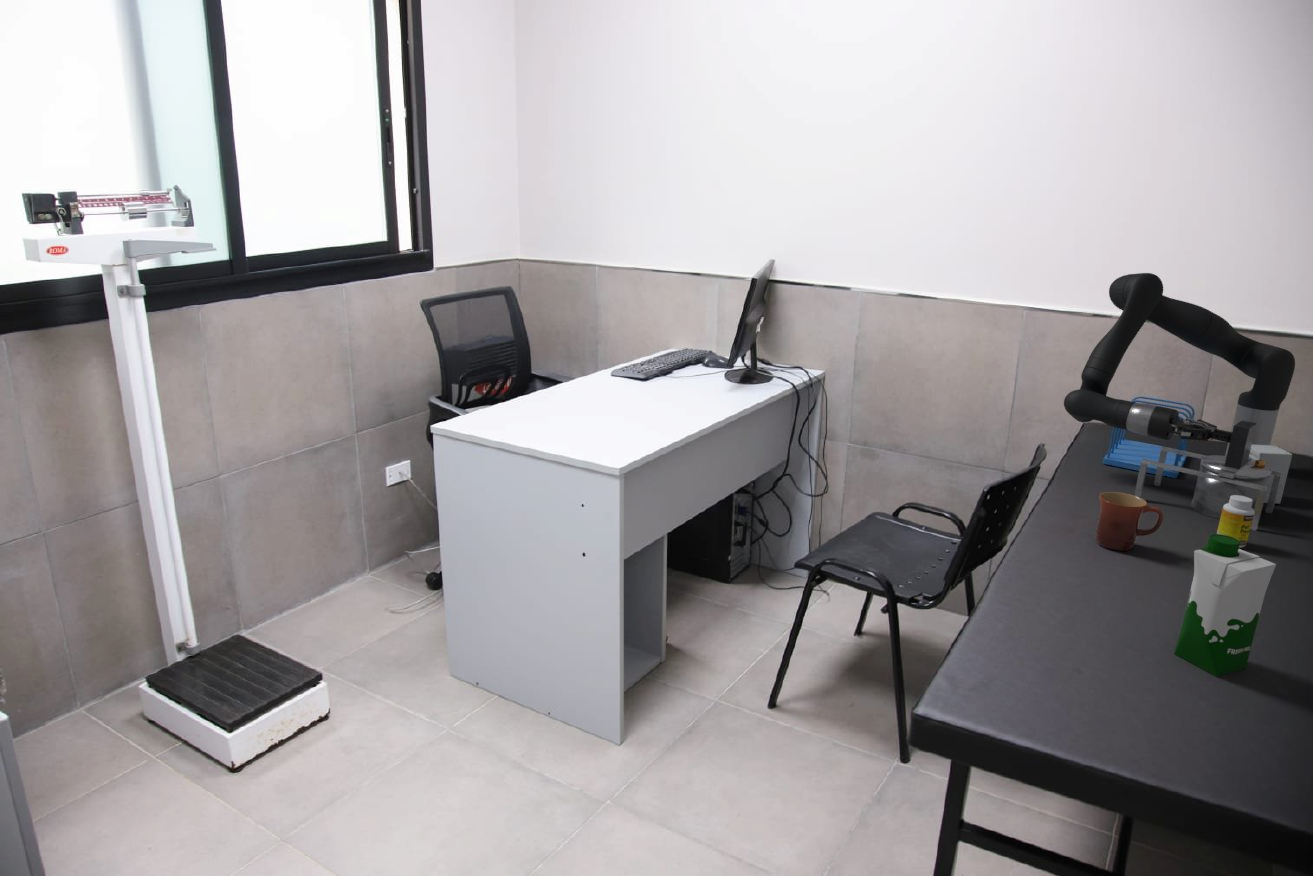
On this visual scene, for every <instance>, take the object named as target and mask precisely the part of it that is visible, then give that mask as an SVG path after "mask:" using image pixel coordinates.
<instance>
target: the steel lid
mask: <svg viewBox="0 0 1313 876" xmlns="http://www.w3.org/2000/svg"><path fill="white" fill-rule="evenodd" d="M1256 425H1257V423H1252V422H1247V421H1240V422H1239V423H1237V424H1236V425H1234V427H1233V432H1232V436H1231V440H1230V444H1229V449H1228V453H1227V456H1225V455H1220V454H1219V455H1217V454H1215V455H1205V456H1204V457H1202V458H1201V459H1200V463H1199V464H1200V465H1201V466H1202V467H1203V468H1205V469H1207V470H1209V471H1212V472H1215V473H1218V476H1223V477H1227V478H1231V479H1234V478H1242V479H1253V480H1261V479H1267V478H1269V477H1270V476H1271V472H1272V470H1271V469H1270V468H1269V467H1267V466H1265V464H1266V462H1265V461H1262V460H1255V461H1252V459H1249V454H1250V450H1251V445H1252V441H1253V437H1254V433H1255V429H1256ZM1200 465H1199V466H1200Z"/></svg>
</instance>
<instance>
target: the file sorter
mask: <svg viewBox="0 0 1313 876" xmlns="http://www.w3.org/2000/svg"><path fill="white" fill-rule="evenodd" d="M1142 399H1144V400H1142ZM1147 400H1149V401H1147ZM1153 401H1154V402H1153ZM1131 402H1136V403H1145V404H1151V405H1156V406H1161V407H1166V408H1171V409H1176V410H1177V411H1178V413H1179V414H1180V415H1179V416H1178V417H1179V419H1184V420H1185V419H1186V418H1189V419H1194V417H1195V413H1196V412H1195V410H1194V408H1193V406H1192V405H1190V404H1189V403H1185V402H1178V401H1173V400H1168V399H1162V398H1155V397H1148V396H1136V397H1134V398H1133V399H1132V400H1131ZM1159 402H1162V403H1159ZM1168 403H1169V404H1168ZM1171 404H1172V405H1171ZM1173 404H1175V405H1173ZM1177 405H1180V406H1177ZM1184 406H1186V407H1184ZM1187 407H1188V408H1189V409H1190V410H1189V409H1188V408H1187ZM1181 410H1183V411H1181ZM1184 411H1185V412H1184ZM1181 415H1183V416H1184V417H1185V418H1184V417H1183V416H1181ZM1194 420H1195V419H1194ZM1126 432H1127V430H1124V429H1120V428H1115V427H1112V431H1111V436H1110V441H1109V446H1108V451H1107V454H1105V456H1104V457H1103V459H1102V460H1103V461H1102V464H1103V465H1104V464H1105V465H1107V466H1108V465H1109V466H1113V467H1117V468H1124V469H1129V470H1134V471H1138V472H1139V470H1140V465H1141V460H1142V459H1147V460H1151V461H1156V462H1158V461H1159V457H1160V452H1161V448H1162V447H1164V446H1162V445H1157V444H1153V443H1152V444H1151V443H1146V442H1141V441H1136V440H1130V439H1126V438H1125V437H1126ZM1188 441H1189V439H1181V438H1180V437H1179V443H1178V447H1177V448H1176V449H1177V450H1182V451H1187V452H1189V451H1188V450H1187V446H1188V443H1189V442H1188ZM1187 458H1188V456H1185V455H1180V454H1176V453H1171V452H1167V456H1166V460H1165V464H1169V465H1173V466H1178V467H1182V468H1183V466H1184V464H1185V462H1186V460H1187ZM1156 471H1157V466H1153V465H1149V464H1148V466H1147V470H1146V474H1147V473H1148V474H1152V475H1156ZM1179 473H1180V472H1179V471H1175V470H1171V469H1166V468H1164V470H1163V474H1162V477H1165V476H1167V478H1170V477H1171V479H1177V478H1178V475H1179Z"/></svg>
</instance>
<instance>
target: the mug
mask: <svg viewBox="0 0 1313 876" xmlns="http://www.w3.org/2000/svg"><path fill="white" fill-rule="evenodd" d="M1098 498H1099V503H1100V505H1099V506H1100V507H1099V509H1100V511H1099V517H1098V521H1097V525H1096V529H1095V541H1096V542H1097V544H1098V545H1100V547H1103V548H1105V549H1108V550H1111V551H1117V552H1126V551H1128V550H1131V549H1133V548H1134V545H1135V544H1136V541H1137V537H1141V536H1142V537H1143V536H1148V535H1152V534H1154V533H1155V532H1156V531H1158V530H1159V529H1160V527H1161V526H1162V523H1163V520H1164V513H1163V511H1162V509H1160V508H1159V507H1156V506H1152V505H1148V503H1147V500H1145V499H1144V498H1142V497H1141V498H1139V497H1137V496H1134V495H1133V494H1130V493H1125V492H1118V491H1104V492H1101V493H1099V495H1098ZM1148 512H1155V513H1157V514H1158V515H1157V519H1156V521H1155V523H1154V525H1153V526H1152V527H1150V528H1145V529H1143V528H1139V527H1140V525H1139V524H1140V520H1141V517H1142V516H1143V514H1145V513H1148Z"/></svg>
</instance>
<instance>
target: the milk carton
mask: <svg viewBox="0 0 1313 876" xmlns="http://www.w3.org/2000/svg"><path fill="white" fill-rule="evenodd" d="M1239 545H1240V542H1239V541H1238V540H1237V539H1235V538H1233V537H1230V536H1226V535H1220V534H1217V533H1216V534H1215V533H1213V534H1210V535H1209V538H1208V541H1207V544H1206V546H1204V547H1201V548H1199V549H1196V550H1194V551H1193V554H1194V555H1193V556H1194V558H1193V560H1194V561H1193V563H1194V565H1193V566H1194V568H1193V571H1194V572H1193V578H1192V582H1191V587H1190V591H1189V595H1188V600H1187V605H1186V607H1185V613H1184V617H1183V621H1182V623H1181V627H1180V631H1179V635H1178V638H1177V641H1176V646H1175V649H1174V653H1173V655H1175V656H1178V657H1179V658H1180V659H1183V660H1185V661H1186V662H1189V663H1190V664H1192V665H1194V666H1196V667H1197V668H1200V669H1201V670H1203V671H1205V672H1207V673H1208V674H1210V675H1212V676H1214V677H1220V676H1224V675H1226V674H1230V673H1234V672H1237V671H1240V670H1244V669H1247V665H1248V661H1249V657H1250V653H1251V649H1252V646H1253V642H1254V637H1255V633H1256V629H1257V626H1258V622H1259V619H1260V615H1261V610H1262V608H1263V607H1262V606H1263V603H1264V599H1265V595H1266V593H1267V589H1268V586H1269V585H1270V584H1269V583H1270V581H1271V578H1272V575H1273V574H1274V571H1275V569H1276V566H1277V563H1274V562H1272V561H1270V560H1267V559H1264V558H1261V556H1259V555H1257V554H1256V553H1255V554H1254V553H1251V552H1248V551H1246V550H1242V549H1241V548H1239Z"/></svg>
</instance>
